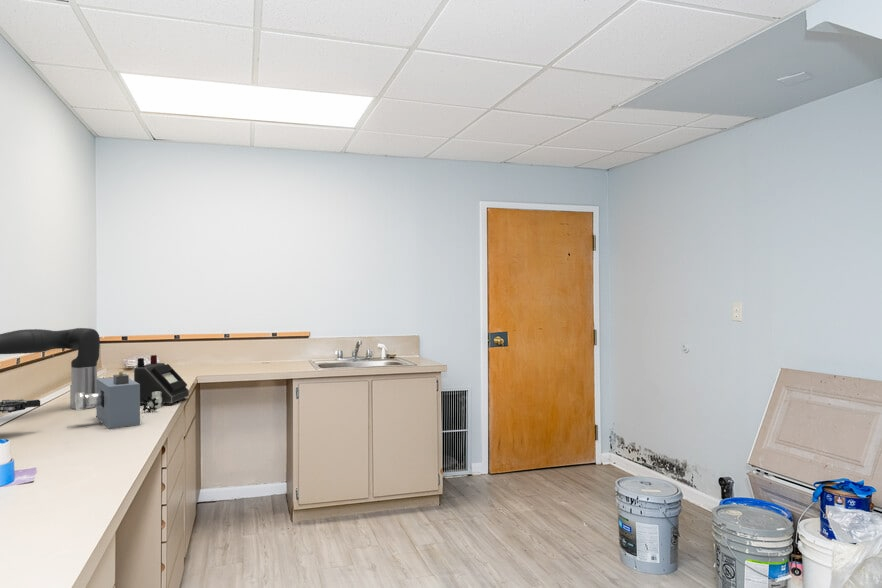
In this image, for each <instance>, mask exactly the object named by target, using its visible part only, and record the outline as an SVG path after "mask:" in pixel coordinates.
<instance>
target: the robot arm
mask: <svg viewBox="0 0 882 588" xmlns="http://www.w3.org/2000/svg"><path fill="white" fill-rule="evenodd" d="M100 344H101V337H100V334H99V333H98V331H97V330H95V329H94V328H89V327H88V328H86V327H78V328H70V329H62V330H50V329H40V328H39V329H38V328H35V329H30V328H29V329H17V330H13V331H8V332H7V331H6V332H3V333H0V355H18V354H36V353H37V354H38V353H44V352H47V351H51V350H55V349H57V350H58V349H60V350H61V349H62V350H63V349H65V350H74V351H77V356H76V358H73V359H72V360H71V362H70V365H71V368H70V369H71V372H70V373H71V377H70V378H71V384H70V385H69V386H70V388H69V389H70V390H69V391H70V393H69V395H70V403H69V404H70V408H71V409H72V410H76V407H75V394H76V393H78V392H85V394H91V393H96V379H98V361H99V357H100V349H101V348H100V346H101V345H100ZM37 407H41V400H40V399H32V400H26V399H2V400H1V401H0V413H2V414H7V413H14V412H15V413H16V412H19V411H24V410H26V409H27V408H28V409H29V408H37ZM92 408H96V406H93V407H86V408H85V410H87V409H92Z"/></svg>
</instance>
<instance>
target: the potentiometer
mask: <svg viewBox="0 0 882 588" xmlns="http://www.w3.org/2000/svg"><path fill="white" fill-rule="evenodd" d="M129 377H130V375H129V374H127V373H124V369H119V370H118V374H113V381H114V384H116V385H119V384H129V379H130V378H129Z"/></svg>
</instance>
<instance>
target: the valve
mask: <svg viewBox="0 0 882 588" xmlns="http://www.w3.org/2000/svg"><path fill="white" fill-rule="evenodd" d="M161 396H162V392H161V391H156V392H152V399H151V396H149V397H148V399H147V400H146V398H144V399H143V401H144V403H141V405H140V407H143V408H142V411H144V412H145V411H146V410H147V413H151V412H152V410H153V411H157V409H161V408H162V405H163V403H162V397H161ZM148 400H151V401H149V402H148ZM146 402H147V403H146ZM160 407H161V408H160Z"/></svg>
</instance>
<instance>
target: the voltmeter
mask: <svg viewBox="0 0 882 588" xmlns="http://www.w3.org/2000/svg"><path fill="white" fill-rule="evenodd" d="M133 381H135V382H137V383H139V384H140V406H141V403H144V401H143V399H144V398H146V400H147V399H148V397H149V396H151V399H152V392H156V391H161V392H162V396H161V397H162V404H165V403H166V406H172V405H173V403H175V402H177V401H184V400H185V399H186V397H189V396H190V394H189V393H190V390H189V389H188V388H187V387H188V383H186V382H185V380H184V379H183V378H182V377H181V376H180V375H179V374H178V372H176V371H175V369H173V367H172V366H171V365H170V364H169V363H167V364H165V362H158V358H157V354H152V355H150V363H148V364H145V358H144V357H139V358H137V366H136V367H134V368H133ZM149 401H151V400H148V402H149ZM145 404H147V402H146V403H145Z"/></svg>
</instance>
